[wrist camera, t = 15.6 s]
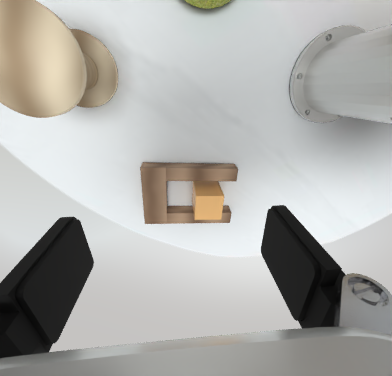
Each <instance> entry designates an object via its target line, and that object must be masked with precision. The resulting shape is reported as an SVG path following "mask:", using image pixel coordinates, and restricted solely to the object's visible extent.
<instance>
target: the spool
mask: <svg viewBox="0 0 392 376" xmlns="http://www.w3.org/2000/svg"><path fill="white" fill-rule="evenodd" d="M117 85H118V72H117V67H116V64H115V61H114V59H113V57H112V55H111V53H110V52H109V50H108V49H107V48H106V47H105V45H103V44H102V43H101V42H100V41H99V40H98V39H96V38H95V37H93V36H92V35H90V34H88V33H86V32H84V31H81V30H77V29H69V28H68V27H67V26H66V25H65V23H64V22H63V21H62V20H61V19H60V18H59V17H58V16H57V15H56V14H55V13H53V12H52V11H51V10H49V9H48V8H47V7H45V6H44V5H42V4H40V3H39V2H37V1H35V0H0V102H1V103H2V104H3V105H5V106H7V107H8V108H10V109H12V110H14V111H16V112H18V113H21V114H24V115H27V116H32V117H39V118H46V117H53V116H58V115H61V114H64V113H66V112H68V111H70V110H71V109H73V108H74V107H75V106H76V105H77V106H81V107H87V108H89V107H97V106H100V105H103V104H105V103H106V102H108V101H109V100H110V99H111V98H112V97H113V95H114V93H115V92H116V89H117Z"/></svg>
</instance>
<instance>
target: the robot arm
mask: <svg viewBox="0 0 392 376" xmlns="http://www.w3.org/2000/svg"><path fill="white" fill-rule="evenodd" d="M325 38H326V40H325ZM297 75H298V77H297ZM290 97H291V101H292V104H293V106H294V108H295V110H296V111H297V112H298V114H299V115H300V116H302V117H303V118H304V119H307V120H309V121H313V122H317V123H325V122H331V121H334V120H337V119H339V118H341V117H343V116H346V117H352V118H358V119H364V120H370V121H376V122H382V123H388V124H392V24H391V25H388V26H384V27H381V28H378V29H374V30H371V31H368V32H366V31H365V30H363V29H361V28H359V27H356V26H352V25H347V26H339V27H336V28H333V29H330V30H328V31H326V32H324V33H322V34H321V35H319V36H317V37H316V38H315V39H314V40H313V41H312V42H311V43H309V45H308V46H307V47H306V48H305V49H304V51H303V52H302V53H301V55H300V57H299V58H298V60H297V62H296V64H295V67H294V69H293V72H292V76H291V81H290ZM305 111H306V112H305ZM261 253H262V256H263V258H264V260H265V262H266V264H267V266H268V268H269V270H270V272H271V274H272V276H273V278H274V280H275V282H276V284H277V286H278V288H279V290H280V292H281V294H282V296H283V298H284V300H285V302H286V304H287V306H288V308H289V310H290V312H291V314H292V316H293V318H294V319H295V320H296V321H297V320H298V321H299V323H300V325H301V327H302V329H288V330H276V331H264V332H253V333H243V334H231V335H219V336H209V337H198V338H188V339H178V340H167V341H157V342H146V343H137V344H125V345H116V346H106V347H96V348H86V349H77V350H67V351H57V352H49V350H50V348H51V346H52V344H53V343H55V342H57V340H58V339H59V337H60V335H61V333H62V331H63V328H64V326H65V324H66V322H67V320H68V318H69V316H70V314H71V311H72V309H73V307H74V305H75V303H76V301H77V299H78V297H79V295H80V293H81V291H82V289H83V287H84V285H85V282H86V280H87V278H88V276H89V274H90V272H91V270H92V268H93V263H94V261H93V257H92V254H91V251H90V249H89V246H88V243H87V240H86V237H85V234H84V231H83V228H82V225H81V222H80V221H79V220H77V219H76V218H75V217H62V218H59V219H58V220H57V221H56V222H55V224H54V225H53V226H52V227H51V228H50V229H49V230H48V231H47V232H46V233H45V235H44V236H43V237H42V238H41V239H40V240H39V241H38V242H37V243H36V244H35V246H34V247H33V248H32V249H31V250H30V251H29V252H28V253H27V254H26V256H24V258H23V259H22V260H21V261H20V262H19V263H18V264H17V265H16V266H15V267H14V269H13V270H12V271H11V272H10V273H9V274H8V275H7V276H6V277H5V279H3V281H2V282H1V283H0V376H392V295H391V294H390V292H389V291H388V290H387V289H386V288H385V287H384V286H382V285H381V284H380V283H378V282H377V281H375V280H373V279H371V278H369V277H367V276H363V275H360V274H354V273H352V274H347V275H345V274H344V272H343V271H342V270H341V269H342V268H341V267H340V266H339V265H338V264H337V263H336V262H335V261H334V260H333V258H332V257H331V256H330V255H329V254H328V253H327V252H326V251H325V250H324V249H323V248H322V246H321V245H320V244H319V243H318V242H317V241H316V240H315V238H314V237H313V236H312V235H311V234H310V233H309V232H308V231H307V230H306V228H305V227H304V226H303V225H302V224H301V223H300V222H299V221H298V220H297V218H296V217H295V216H294V215H293V214H292V213H291V212H290V211H289V210H288V209H287V207H286V206H284V205H280V206H272V207H271V209H269V210H268V213H267V218H266V224H265V229H264V235H263V240H262V246H261Z"/></svg>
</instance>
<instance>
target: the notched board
mask: <svg viewBox="0 0 392 376" xmlns="http://www.w3.org/2000/svg"><path fill="white" fill-rule="evenodd" d="M140 170H141V182H142V194H143V206H144V219H145V224H169V223H230V219H231V211H230V209H229V206H223V210H222V218H221V220H195V219H194V212H193V206H167V181H236V180H237V173H238V168H237V167H236V166H235V164H204V163H146V162H143V163H142V165H141V167H140Z"/></svg>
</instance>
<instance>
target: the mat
mask: <svg viewBox="0 0 392 376" xmlns="http://www.w3.org/2000/svg"><path fill="white" fill-rule="evenodd" d="M185 1H186V2H187V3H190V4H191V5H193V6H196V7H199V8H204V9H208V8H215V7H219V6H223V5H225V4H226V3H228V2H229V1H231V0H185Z"/></svg>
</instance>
